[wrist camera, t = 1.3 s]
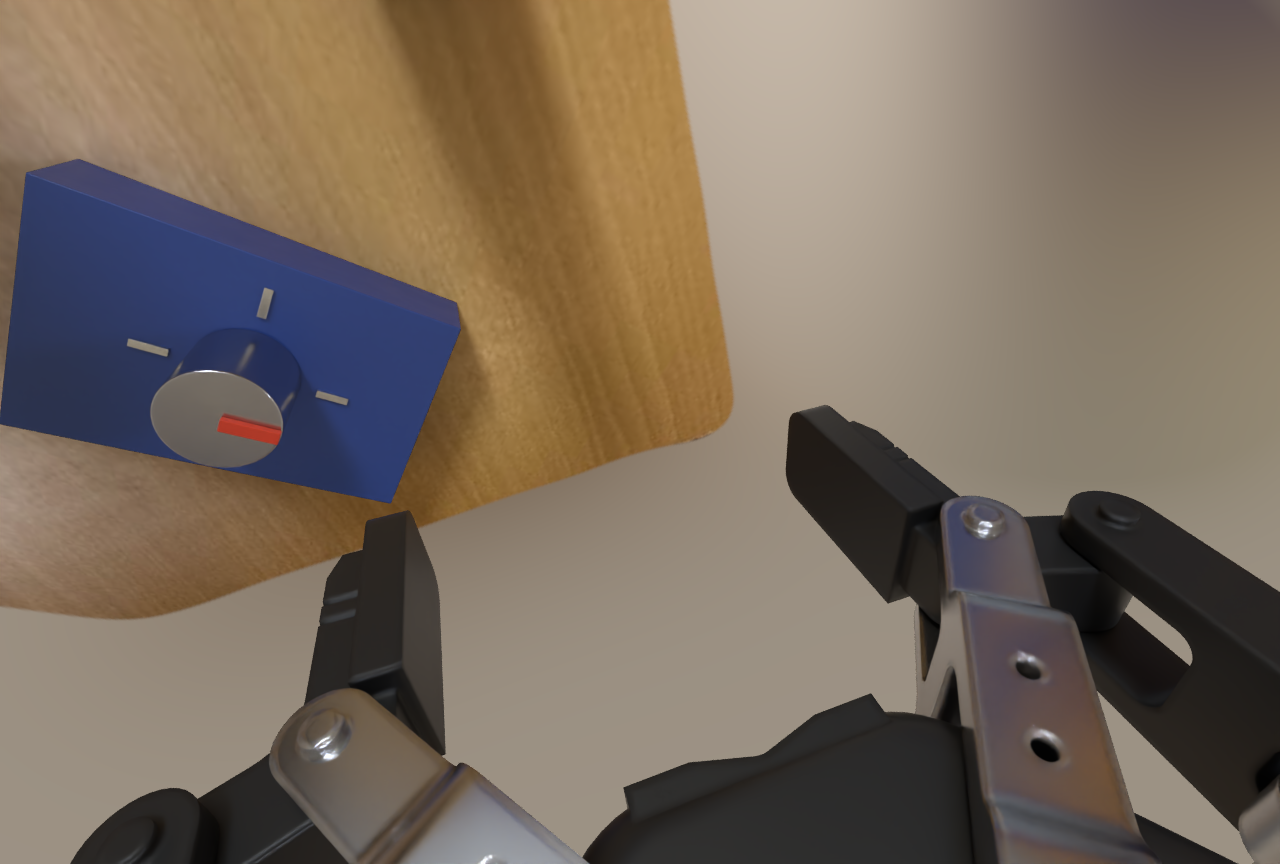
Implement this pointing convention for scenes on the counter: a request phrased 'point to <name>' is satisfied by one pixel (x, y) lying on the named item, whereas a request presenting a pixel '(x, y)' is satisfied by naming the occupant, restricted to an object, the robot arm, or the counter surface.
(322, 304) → the blue knob base block
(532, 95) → the counter surface
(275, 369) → the silver pointer knob
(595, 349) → the counter surface
